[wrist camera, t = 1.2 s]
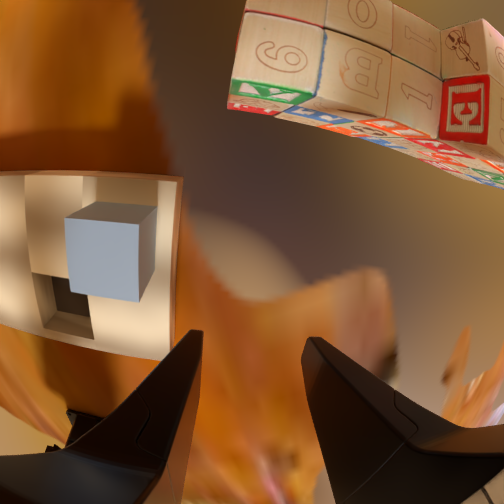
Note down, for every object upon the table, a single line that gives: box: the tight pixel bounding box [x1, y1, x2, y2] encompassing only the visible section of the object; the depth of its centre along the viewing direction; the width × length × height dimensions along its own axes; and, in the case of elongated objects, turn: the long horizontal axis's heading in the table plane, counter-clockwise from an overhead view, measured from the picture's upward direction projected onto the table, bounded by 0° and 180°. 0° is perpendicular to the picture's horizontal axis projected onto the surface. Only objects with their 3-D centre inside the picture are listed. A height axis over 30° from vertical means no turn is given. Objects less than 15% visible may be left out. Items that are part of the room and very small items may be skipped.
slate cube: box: [64, 201, 158, 303], centre depth 14 cm, size 4×4×4 cm
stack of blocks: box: [227, 0, 504, 189], centre depth 12 cm, size 21×6×12 cm, turn 81°
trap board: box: [0, 170, 184, 361], centre depth 16 cm, size 13×30×4 cm, turn 81°
